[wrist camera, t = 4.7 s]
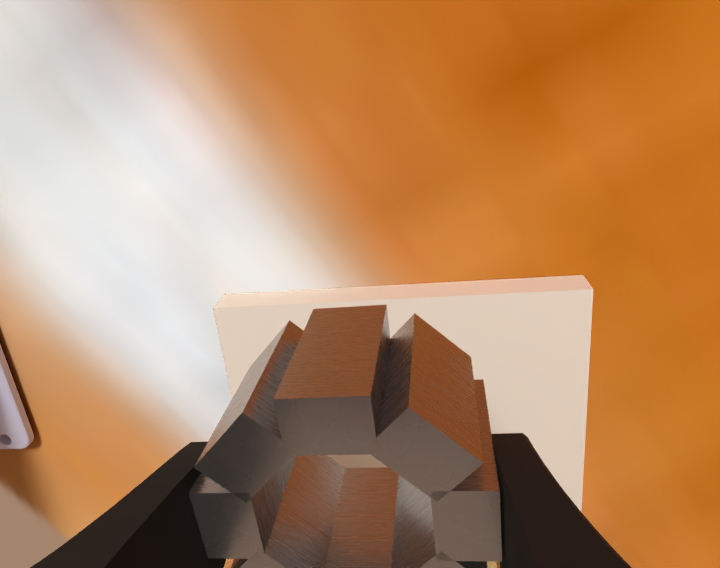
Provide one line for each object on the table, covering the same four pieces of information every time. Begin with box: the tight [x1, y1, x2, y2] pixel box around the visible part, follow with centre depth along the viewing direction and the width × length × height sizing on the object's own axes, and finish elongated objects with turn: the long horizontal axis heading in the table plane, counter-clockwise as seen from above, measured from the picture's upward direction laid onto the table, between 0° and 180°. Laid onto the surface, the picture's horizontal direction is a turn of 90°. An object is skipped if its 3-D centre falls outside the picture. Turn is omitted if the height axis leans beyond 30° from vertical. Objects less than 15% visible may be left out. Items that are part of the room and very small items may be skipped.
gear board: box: [213, 275, 593, 511], centre depth 20 cm, size 12×16×5 cm
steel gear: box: [189, 305, 502, 568], centre depth 12 cm, size 6×6×3 cm
